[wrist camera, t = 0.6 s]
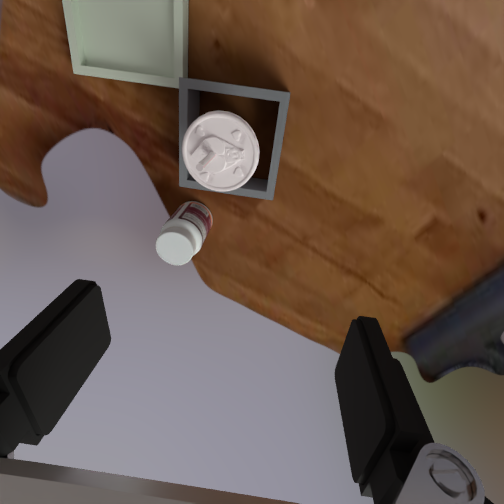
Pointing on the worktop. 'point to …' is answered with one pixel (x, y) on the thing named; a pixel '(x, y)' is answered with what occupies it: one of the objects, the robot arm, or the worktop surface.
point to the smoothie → (220, 151)
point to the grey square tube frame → (190, 113)
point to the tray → (129, 39)
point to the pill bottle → (184, 233)
